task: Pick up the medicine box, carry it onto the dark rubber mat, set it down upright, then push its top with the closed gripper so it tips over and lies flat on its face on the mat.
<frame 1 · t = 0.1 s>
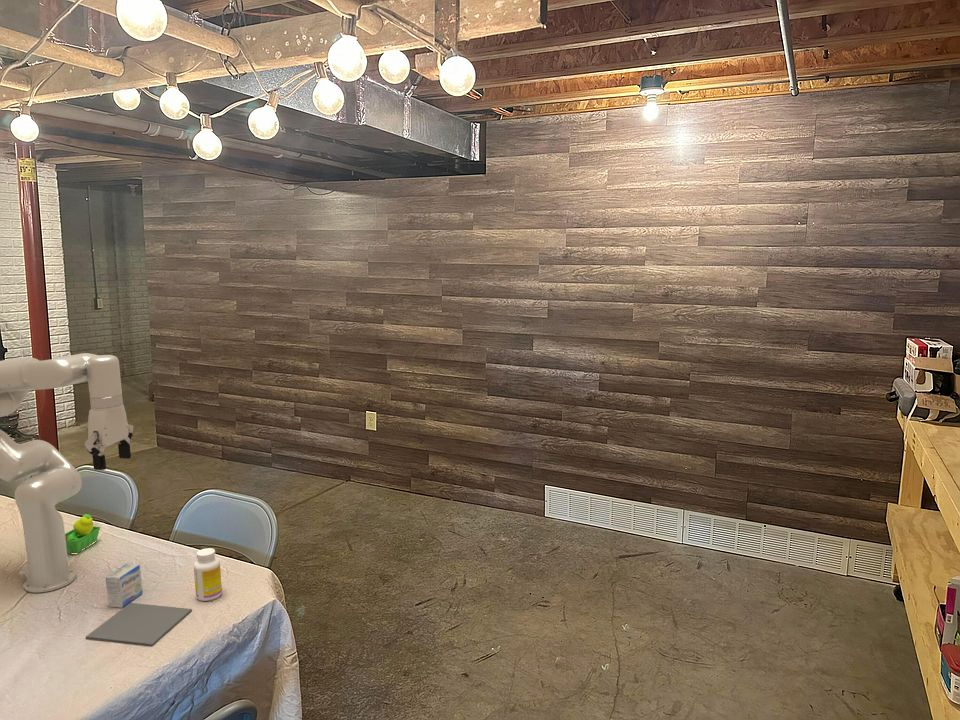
hand: (113, 463, 180), 37 cm above the table, tool pointing down, fingers open, 9 cm apart
mat: (140, 624, 169), on the table
supplement bottle: (209, 596, 183), on the table
medicine box: (125, 600, 181), on the table
fruit basket: (81, 548, 212), on the table
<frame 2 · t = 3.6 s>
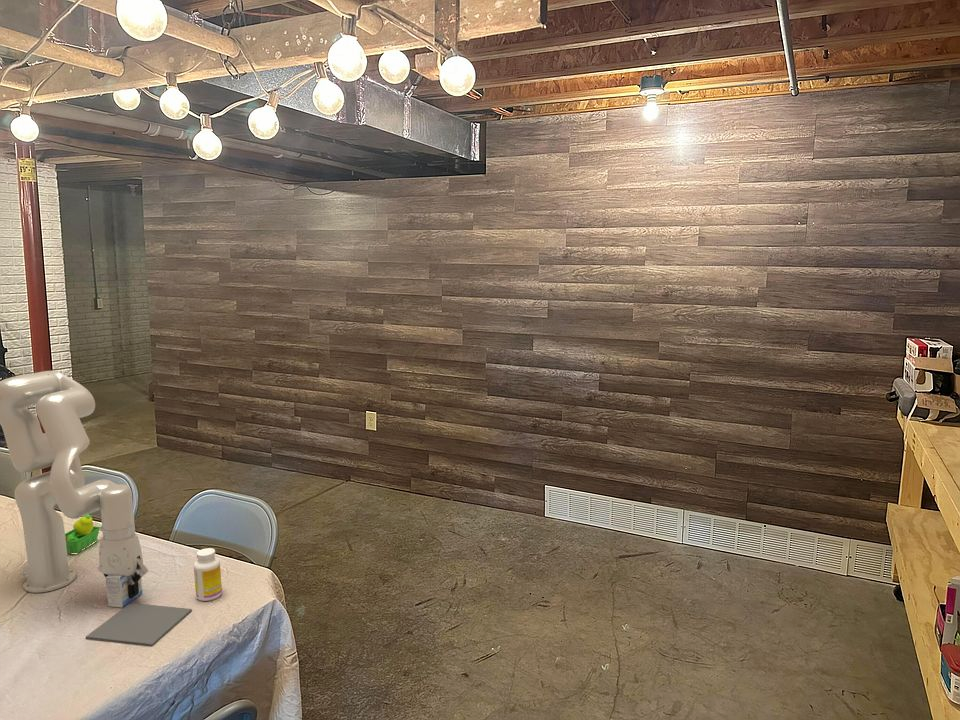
hand: (125, 594, 181), 2 cm above the table, tool pointing down, fingers closed on medicine box, 4 cm apart
medicine box: (125, 600, 181), on the table, touching gripper
everything else where it was.
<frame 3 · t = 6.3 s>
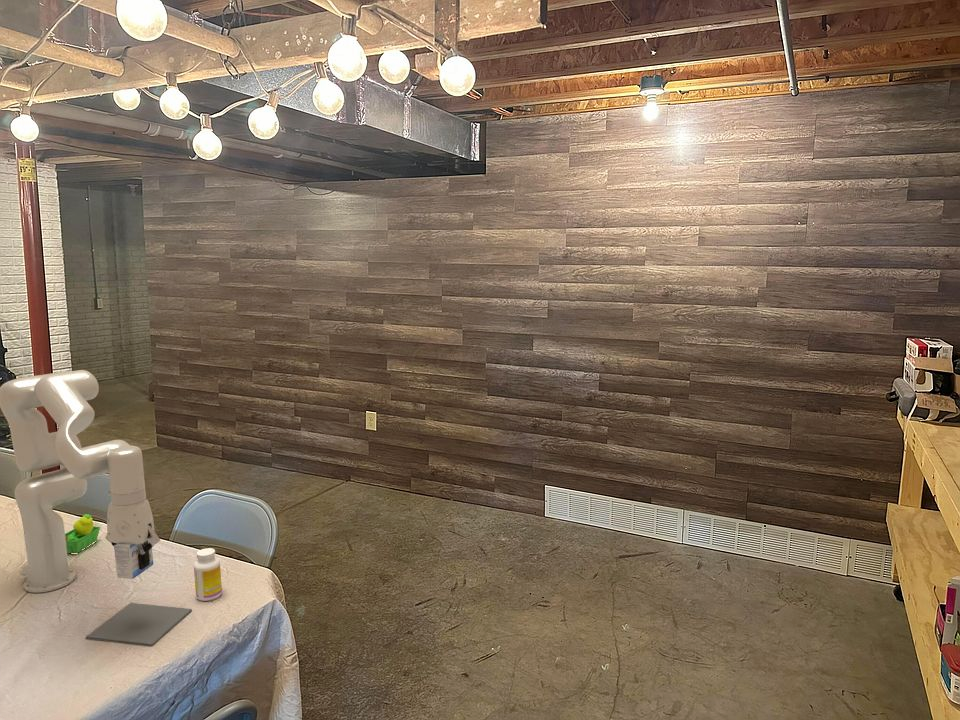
hand: (135, 565, 166), 16 cm above the table, tool pointing down, fingers closed on medicine box, 4 cm apart
medicine box: (135, 572, 167), point 14 cm above the table, touching gripper
everything else where it was.
when the fingers open (3 cm above the table, at t = 9.3 s): medicine box stays where it is, resting on mat.
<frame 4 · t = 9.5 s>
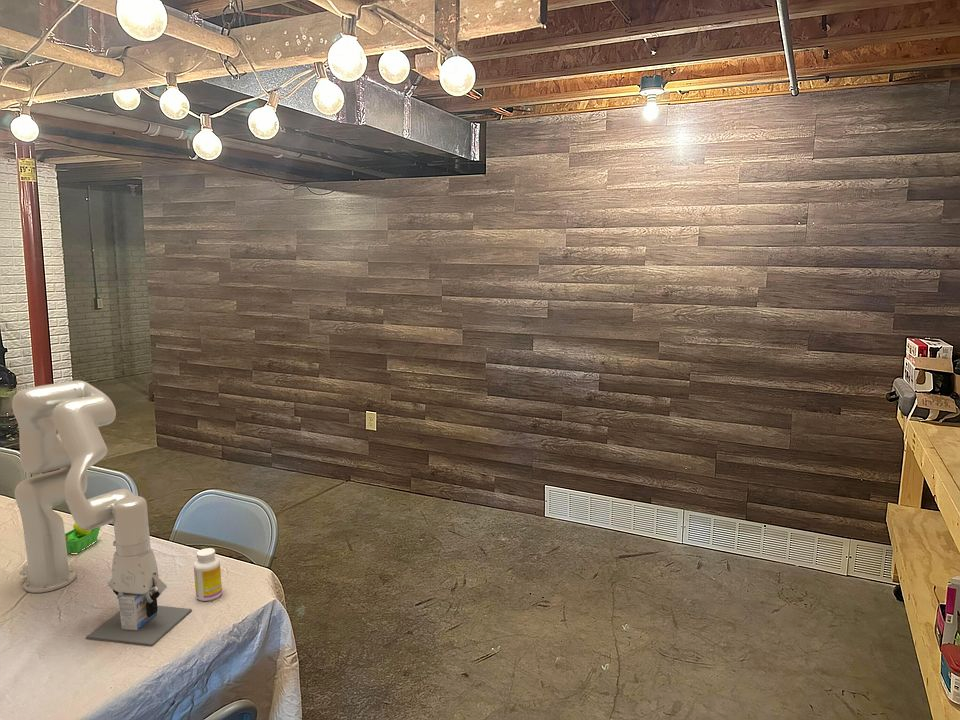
hand: (139, 612, 169), 3 cm above the table, tool pointing down, fingers open, 6 cm apart
medicine box: (139, 622, 169), resting on mat
everything else where it was.
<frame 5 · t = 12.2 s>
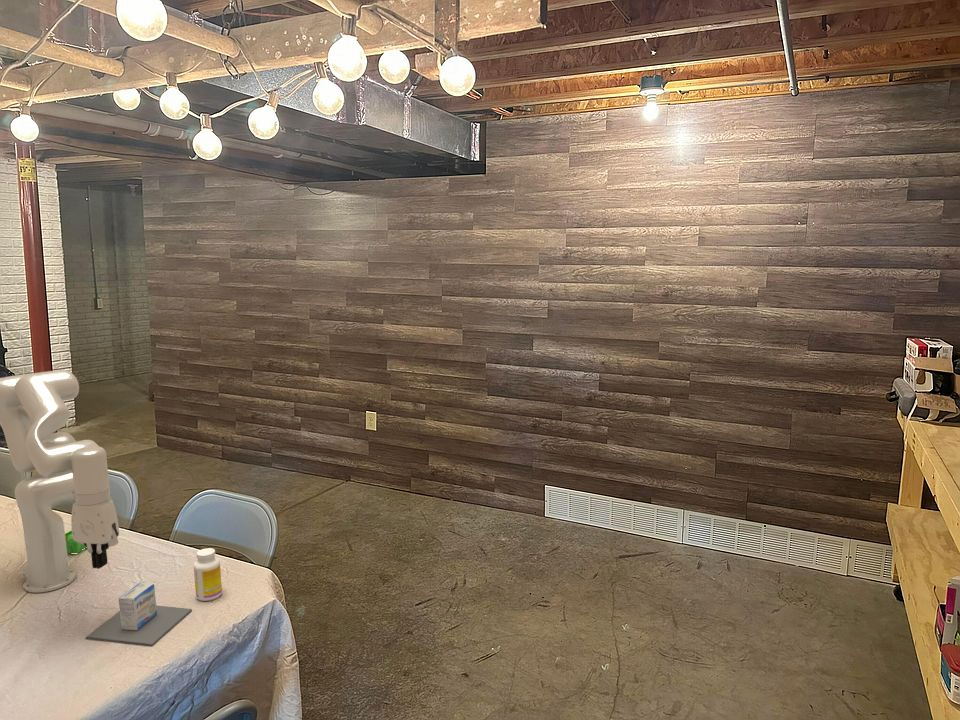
hand: (100, 565, 168), 15 cm above the table, tool pointing down, fingers closed
nothing on the table moved.
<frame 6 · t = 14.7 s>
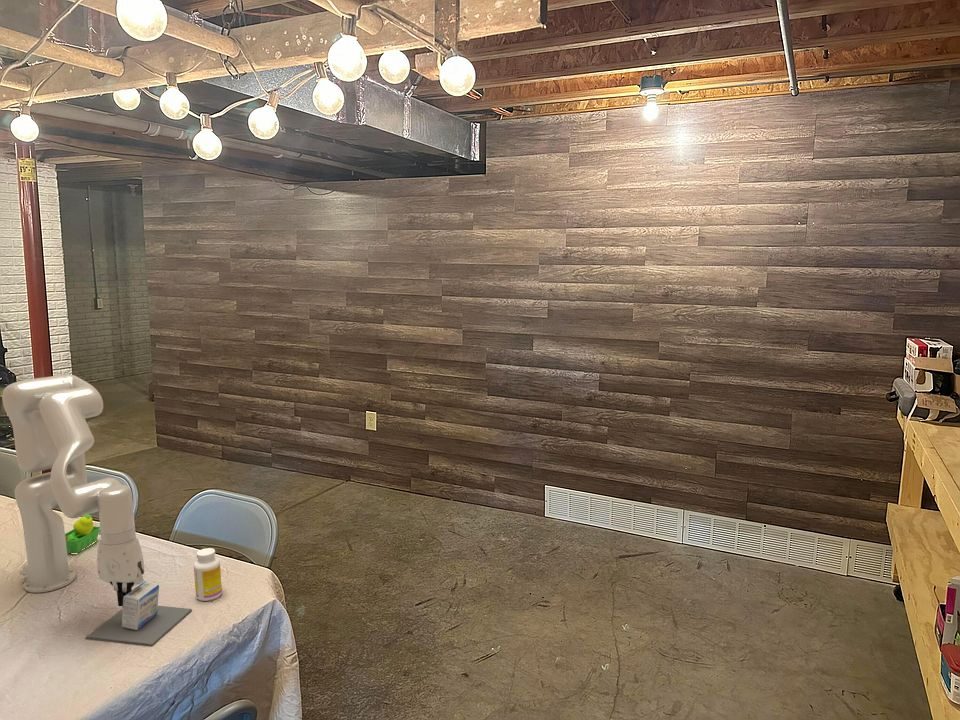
hand: (125, 603, 169), 5 cm above the table, tool pointing down, fingers closed
medicine box: (139, 621, 169), point 1 cm above the table, touching gripper, mat
everything else where it was.
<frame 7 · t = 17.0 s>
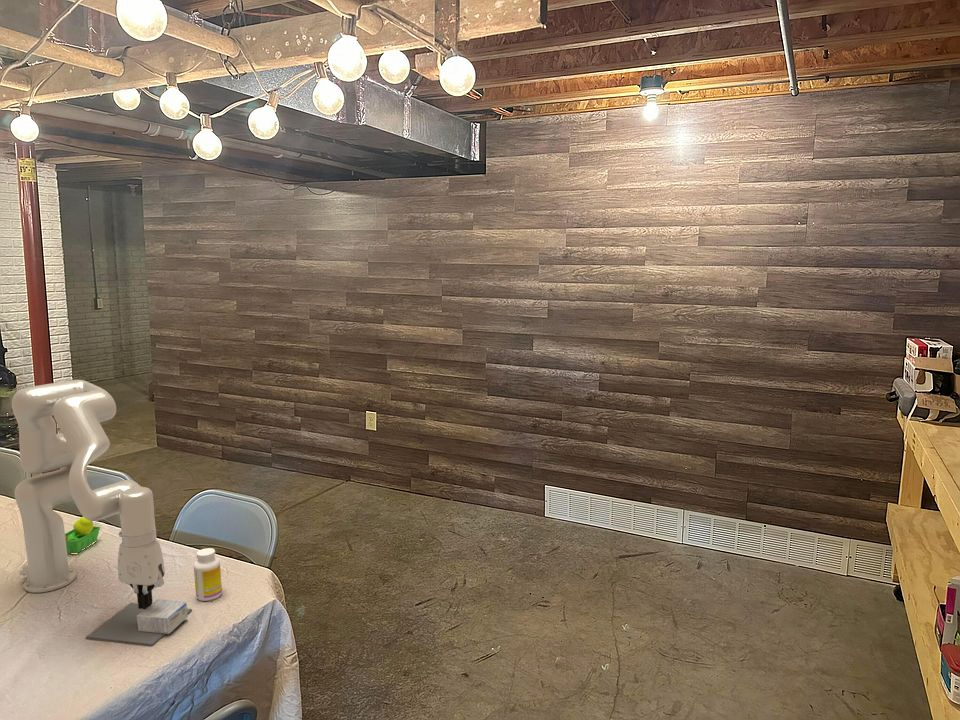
hand: (145, 606, 168), 5 cm above the table, tool pointing down, fingers closed
medicine box: (146, 614, 168), point 3 cm above the table, touching mat
everything else where it was.
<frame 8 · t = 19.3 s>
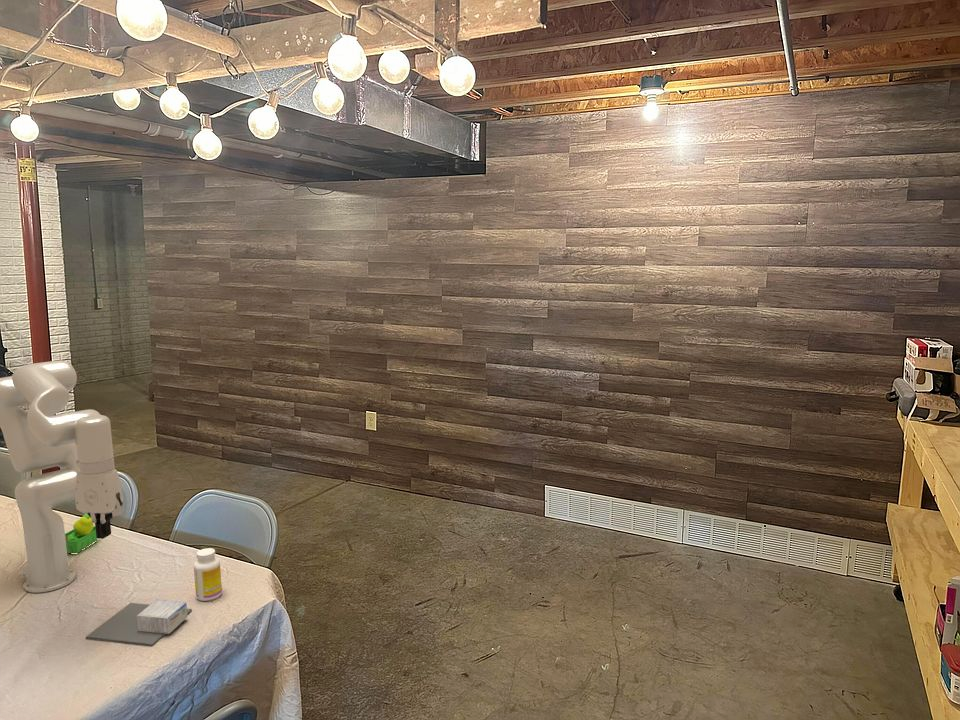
hand: (104, 536, 167), 23 cm above the table, tool pointing down, fingers closed
nothing on the table moved.
at the end: medicine box tilted 91°; medicine box inside the target area (3.3 cm from its centre), point 2.9 cm above the table; the gripper is holding nothing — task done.
